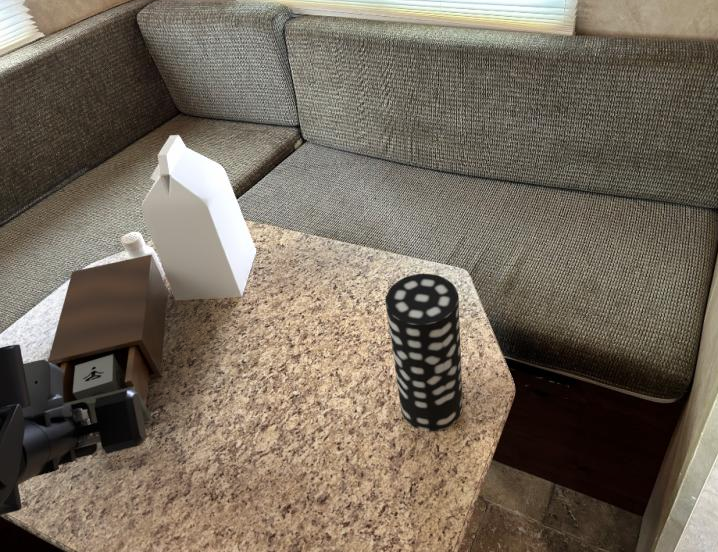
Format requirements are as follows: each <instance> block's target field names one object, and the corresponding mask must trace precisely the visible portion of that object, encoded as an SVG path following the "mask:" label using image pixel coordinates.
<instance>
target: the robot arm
mask: <svg viewBox="0 0 718 552" xmlns="http://www.w3.org/2000/svg"><path fill="white" fill-rule="evenodd" d="M63 377H64V373H63V370H62V369H61V368H59V367H57V366H56V365H54V364H52V363H50V362H48V360H47V359H39V360H35V361H34V360H33V361H29V362H26V363H24V360H23V354H22V349H21V345H20V344H9V345H6V346H1V347H0V516H4V515H7V514H11V513H14V512H19V511H21V510H22V506H23V505H22V500H21V494H20V487H19V485H20V484H23V483H25V482H27V481H29V480H30V479H32V478H36V477H40V476H43V475H47V474H51V473H55V472H57V471H58V470H60V466H62V465H66V464H71V463H73V462H75V461H77V459H79V458H84V457H87V456H91V455H94V454H95V453H96V451H97V448H98V445H97V443H100V442H101V445H102V448H103V449H104V450H103V451H104V452H105V454H106V455H107V454H112V453H117V452H120V451H123V450H127V449H131V448H135V447H139V446H140V445H141V444H143V443H144V442H145V440H146V439H147V437H148V436H147V430H146V425H145V423H144V419H143V414H142V409H141V404H140V399H139V394H138V392H136V391H135V390H133V389H130V390H126V391H122V392H118V393H114V394H110V395H106V396H102V397H99V398H96V402H95V407H94V408H95V413H96V418H97V422H95V423H93V419H92V414H91V409H90V407H89V405H88V404H87V403H86V402H80V403H75V404H69V405H64V403H63ZM95 432H99V433H98V435H97V434H95ZM97 452H98V451H97Z"/></svg>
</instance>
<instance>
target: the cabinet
mask: <svg viewBox="0 0 718 552" xmlns="http://www.w3.org/2000/svg"><path fill="white" fill-rule="evenodd" d="M168 295H169V289H168V287H167V285H166V283H165V281H164V277H163V278H162V276H161V274H160V271H159V269H158V267H157V265H156V263H155V261H154V258H153V256H152V255H147V256H142V257H137V258H133V259H128V260H125V259H123V260H119V261H115V262H109V263H106V264H101V265H97V266H92V267H87V268H83V269H82V268H81V269H77V270H73V271H71V275H70V278H69V282H68V285H67V289H66V293H65V296H64V299H63V304H62V308H61V311H60V312H61V313H60V315H59V319H58V323H57V326H56V330H55V334H54V338H53V341H52V344H51V348H50V352H49V356H48V359H47V361H48V362H50V363H52V364H54V365H56V366H57V367H59V368H60V367H61V363H62V362H65V361H69V360H74V359H78V358H82V357H86V356H91V355H95V354H99V353H104V352H108V351H112V350H116V349H121V348H125V347H129V346H133V345H139V347H140V349H141V351H142V352H143V354H144V356H145V358H146V360H147V362H148V364H149V365H150V372H149V380H151V379H156V378H159V377H162V371H163V361H164V360H163V359H164V348H165V347H164V346H165V336H166V335H165V333H166V321H167V320H166V319H167V308H168Z"/></svg>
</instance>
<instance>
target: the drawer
mask: <svg viewBox="0 0 718 552" xmlns="http://www.w3.org/2000/svg"><path fill="white" fill-rule="evenodd" d="M112 354H113V355H114V357H115V359H116V360H117V362H118V364H119V365H120V367H121V369H122V371H123V372H124V374H125V376H126V377H125V383H126V388H125V389H121V390H117V391H113V392H109V393H105V394H100V395H96V396H92V397H88V398H84V399H80V400H77V398H76V397H75V396H74V394H73V385H74V374H75V366H76V365H79V364H83V363H86V362H89V361H93V360H96V359H99V358H103V357H106V356H109V355H112ZM60 368H61V369H62V370H63V373H64V377H63V403H64V405H69V404H75V403H80V402H86V403H87V404H88V405H89V407H90V409H91V414H92V419H93V423H95V422H97V418H96V413H95V408H94V407H95V402H96V398H99V397H102V396H106V395H110V394H114V393H118V392H122V391H126V390H130V389H133V390H135V391H136V392H138V394H139V399H140V404H141V409H142V414H143V419H144V424H145V423H150V422H151V421H152V413H151V411H150V410H149V408H148V407H147V403H148V402H147V401H148V393H149V392H148V391H149V381H150V379H149V372H150V365H149V364H148V362H147V360H146V358H145V356H144V354H143V352H142V351H141V349H140V347H139V345H133V346H129V347H125V348H121V349H116V350H112V351H108V352H104V353H99V354H95V355H91V356H86V357H82V358H78V359H74V360H69V361H65V362H62V363H61V367H60ZM98 433H99V432H95V434H97V435H98ZM97 445H98V448H97V451H96V452H101V451H104V449H103V448H102V445H101V442H100V443H97ZM96 452H95V453H96Z"/></svg>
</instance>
